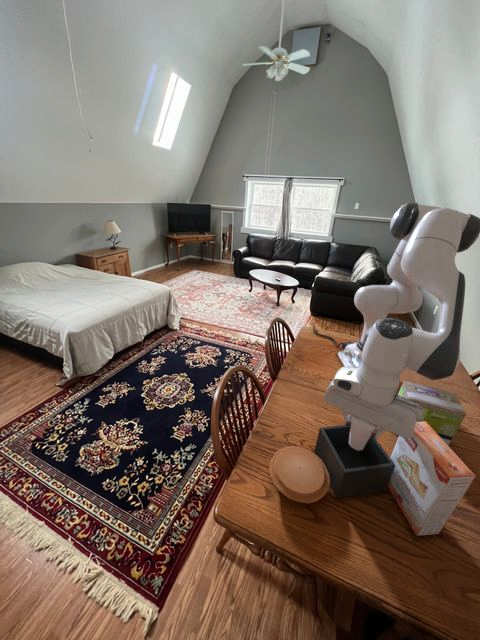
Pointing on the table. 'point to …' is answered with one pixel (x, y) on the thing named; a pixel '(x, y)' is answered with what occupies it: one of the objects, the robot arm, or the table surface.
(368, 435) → the smoothie
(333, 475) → the trash bin
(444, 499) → the cracker box
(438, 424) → the tea box
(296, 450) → the pie
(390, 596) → the table surface
